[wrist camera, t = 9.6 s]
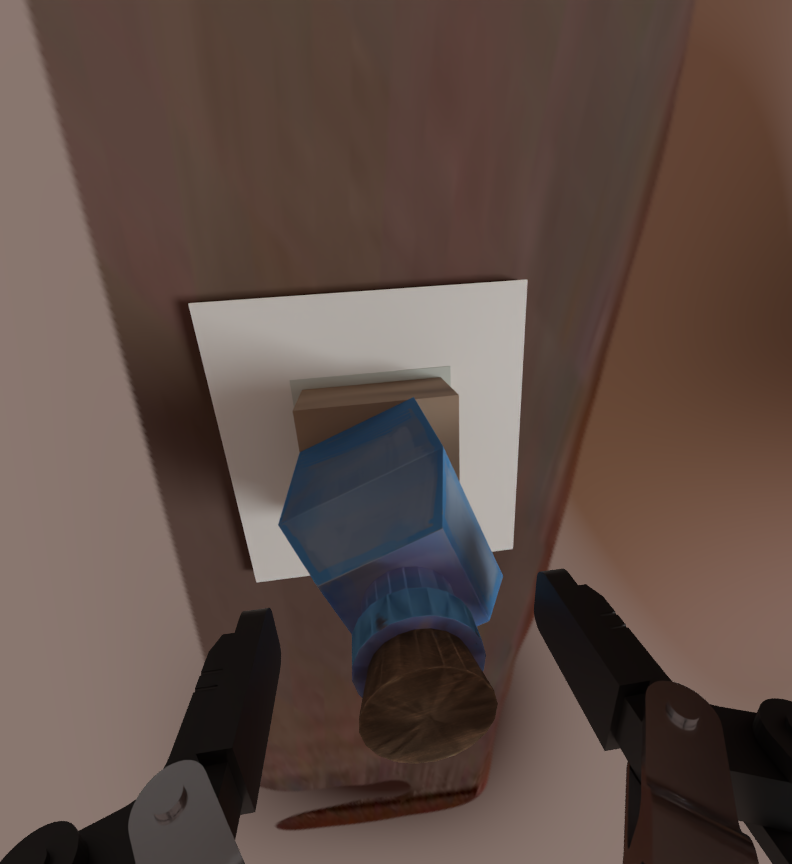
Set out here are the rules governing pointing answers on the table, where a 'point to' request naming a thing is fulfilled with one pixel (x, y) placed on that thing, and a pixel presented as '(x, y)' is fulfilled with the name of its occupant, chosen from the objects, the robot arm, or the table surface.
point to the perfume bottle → (400, 580)
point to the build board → (354, 365)
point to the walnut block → (377, 410)
